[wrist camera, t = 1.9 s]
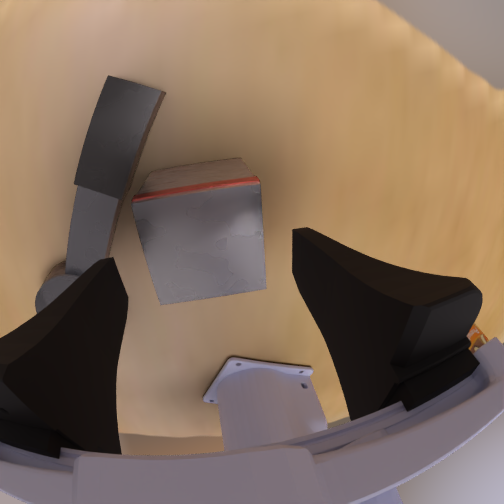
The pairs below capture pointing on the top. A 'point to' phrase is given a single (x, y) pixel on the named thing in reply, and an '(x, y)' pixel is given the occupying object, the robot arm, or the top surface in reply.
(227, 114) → the top surface
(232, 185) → the red-striped grey block
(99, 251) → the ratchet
